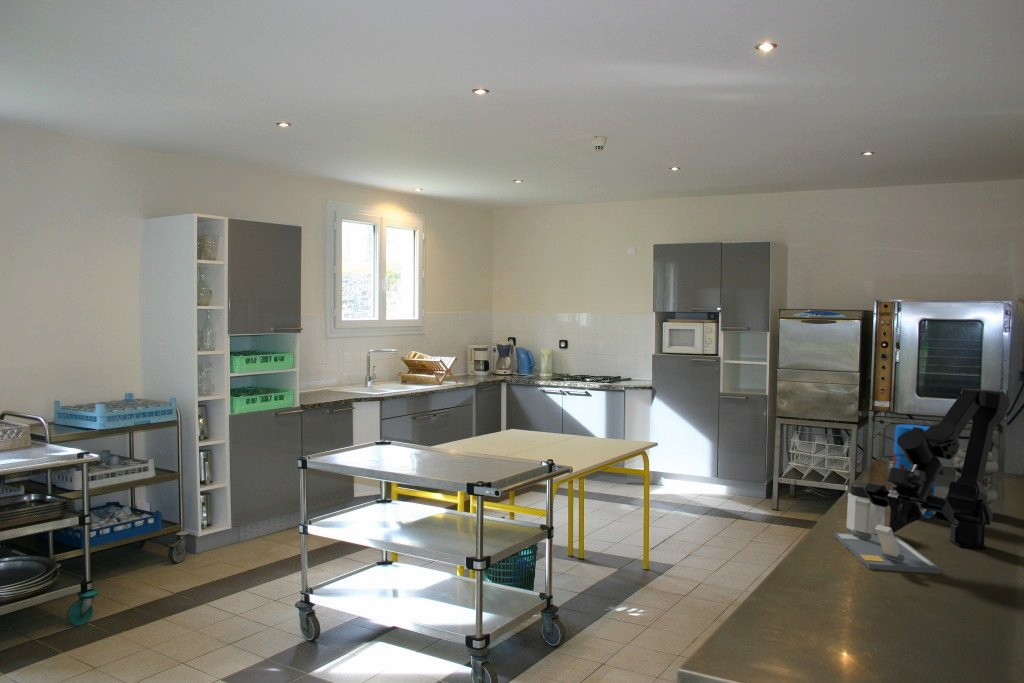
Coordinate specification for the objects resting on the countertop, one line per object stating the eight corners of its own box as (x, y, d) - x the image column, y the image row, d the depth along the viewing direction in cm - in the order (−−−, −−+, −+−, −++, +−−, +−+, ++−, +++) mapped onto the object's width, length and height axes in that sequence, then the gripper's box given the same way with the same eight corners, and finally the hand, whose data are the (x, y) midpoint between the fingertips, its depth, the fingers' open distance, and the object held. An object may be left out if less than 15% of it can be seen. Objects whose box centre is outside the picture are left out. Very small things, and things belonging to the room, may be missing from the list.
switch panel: (897, 541, 197) (897, 535, 197) (940, 573, 172) (940, 567, 172) (835, 537, 199) (835, 531, 199) (868, 569, 174) (869, 562, 174)
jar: (869, 536, 200) (871, 490, 200) (840, 528, 207) (843, 483, 207) (889, 532, 205) (892, 486, 205) (860, 524, 212) (863, 480, 211)
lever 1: (854, 534, 196) (856, 498, 196) (871, 538, 193) (873, 502, 192) (851, 535, 196) (853, 499, 195) (867, 539, 192) (869, 503, 192)
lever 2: (886, 553, 179) (875, 523, 176) (905, 558, 176) (894, 528, 173) (883, 557, 179) (871, 528, 176) (901, 563, 175) (890, 533, 172)
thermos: (929, 511, 229) (934, 426, 228) (936, 520, 219) (941, 431, 218) (888, 507, 233) (892, 423, 232) (893, 516, 222) (897, 428, 222)
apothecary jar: (951, 514, 226) (954, 452, 226) (945, 505, 237) (949, 446, 237) (1000, 520, 222) (1003, 456, 221) (992, 510, 233) (995, 450, 232)
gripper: (869, 448, 186) (839, 499, 181) (950, 462, 171) (919, 519, 165) (887, 477, 191) (858, 529, 185) (966, 494, 175) (938, 550, 170)
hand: (891, 531), depth 176 cm, fingers closed
